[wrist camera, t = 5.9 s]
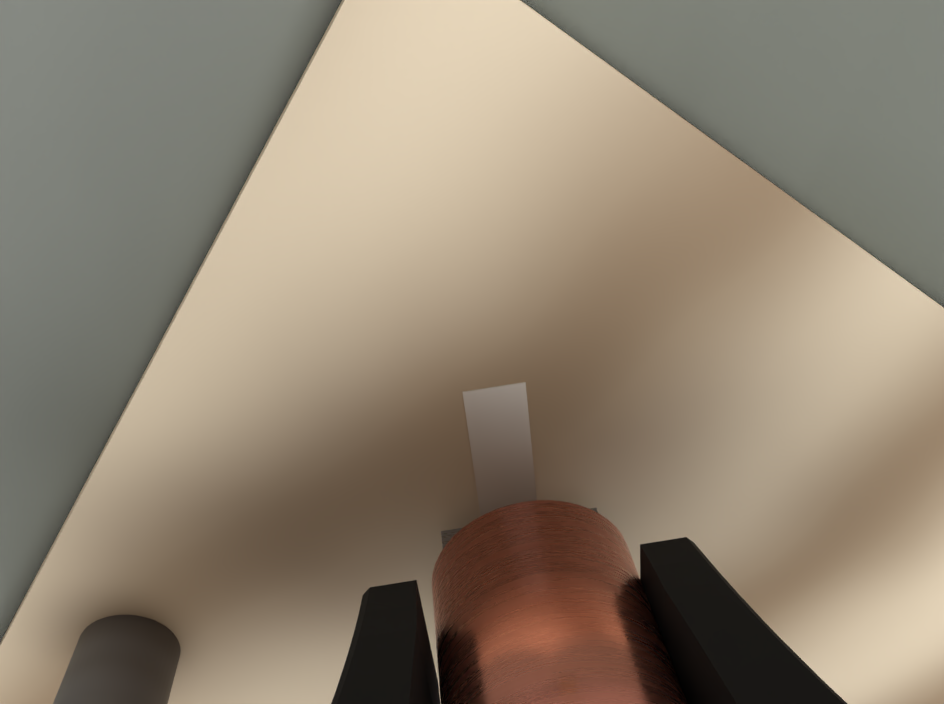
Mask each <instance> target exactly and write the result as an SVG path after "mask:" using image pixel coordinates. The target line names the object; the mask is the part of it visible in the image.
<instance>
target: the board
mask: <svg viewBox="0 0 944 704" xmlns="http://www.w3.org/2000/svg"><path fill="white" fill-rule="evenodd" d="M536 500H554V501H563V502H569V503H573V504H578V505H581V506H584V507H586V508H589V509H590V508H597V511H598V513H599V514H601V515H602V516H604V517H605V518H607V519H608V520H609V521H610V522H611V523H612V524H613V525H615V526H616V527H617V529H618V530H619V531H620V533H621V534H622V535H623V537H624V539H625V541H626V543H627V546H628V548H629V551H630V554H631V556H632V559H633V562H634V564H635V567H636V569H637V572H638V575H639V577H640V544H645V543H652V542H658V541H664V540H671V539H677V538H683V537H687V538H688V539H690V540H691V541H693V542H694V543H695V544H696V545H697V547H698V548H699V549H700V550H701V551H702V553H703V554H704V555H705V556H706V557H707V558H708V560H709V561H710V562H711V563H712V564H713V565H714V567H715V568H716V569H717V570H718V571H719V572H720V573H721V575H722V576H723V577H724V578H725V579H726V580H727V581H728V583H729V584H730V585H731V586H732V587H733V588H734V589H735V590H736V591H737V593H738V594H739V595H740V596H741V597H742V598H743V599H744V600H745V601H746V602H747V603H748V604H749V606H750V607H751V608H752V609H753V610H754V611H755V612H756V613H757V614H758V615H759V616H760V617H761V618H762V620H763V621H764V622H765V623H766V624H767V625H768V626H769V627H770V628H771V629H772V630H773V631H774V632H775V633H776V634H777V635H778V636H779V637H780V638H781V639H782V640H783V641H784V642H785V643H786V644H787V645H788V646H789V647H790V648H791V649H792V650H793V651H794V652H795V653H796V654H797V655H798V656H799V657H800V658H801V659H802V660H803V661H804V662H805V663H806V664H807V665H808V666H809V667H810V668H811V669H812V670H813V671H814V672H815V673H816V674H817V675H818V676H819V677H820V678H821V679H822V680H823V681H824V682H825V683H826V684H827V685H828V686H829V687H830V688H832V689H833V690H834V691H835V692H836V693H837V694H838V695H839V696H840V697H841V698H842V699H843V700H844V701H845V702H846V703H847V704H944V307H942V306H941V305H940V304H938V303H937V302H935V301H934V300H933V299H931V298H930V297H929V296H927V295H926V294H924V293H923V292H922V291H920V290H919V289H918V288H916V287H915V286H913V285H912V284H911V283H909V282H908V281H907V280H905V279H904V278H902V277H901V276H900V275H898V274H897V273H896V272H894V271H893V270H891V269H890V268H889V267H887V266H886V265H884V264H883V263H882V262H880V261H879V260H878V259H876V258H875V257H873V256H872V255H871V254H869V253H868V252H867V251H865V250H864V249H862V248H861V247H860V246H858V245H857V244H856V243H854V242H853V241H851V240H850V239H849V238H847V237H846V236H845V235H843V234H842V233H840V232H839V231H838V230H836V229H835V228H834V227H832V226H831V225H829V224H828V223H827V222H825V221H824V220H823V219H821V218H820V217H818V216H817V215H816V214H814V213H813V212H812V211H810V210H809V209H807V208H806V207H805V206H803V205H802V204H801V203H799V202H798V201H796V200H795V199H794V198H792V197H791V196H790V195H788V194H787V193H785V192H784V191H783V190H781V189H780V188H778V187H777V186H776V185H774V184H773V183H772V182H770V181H769V180H767V179H766V178H765V177H763V176H762V175H761V174H759V173H758V172H756V171H755V170H754V169H752V168H751V167H750V166H748V165H747V164H745V163H744V162H743V161H741V160H740V159H739V158H737V157H736V156H734V155H733V154H732V153H730V152H729V151H728V150H726V149H725V148H723V147H722V146H721V145H719V144H718V143H717V142H715V141H714V140H712V139H711V138H710V137H708V136H707V135H706V134H704V133H703V132H701V131H700V130H699V129H697V128H696V127H695V126H693V125H692V124H690V123H689V122H688V121H686V120H685V119H684V118H682V117H681V116H679V115H678V114H677V113H675V112H674V111H673V110H671V109H670V108H668V107H667V106H666V105H664V104H663V103H661V102H660V101H659V100H657V99H656V98H655V97H653V96H652V95H650V94H649V93H648V92H646V91H645V90H644V89H642V88H641V87H639V86H638V85H637V84H635V83H634V82H633V81H631V80H630V79H628V78H627V77H626V76H624V75H623V74H622V73H620V72H619V71H617V70H616V69H615V68H613V67H612V66H611V65H609V64H608V63H606V62H605V61H604V60H602V59H601V58H600V57H598V56H597V55H595V54H594V53H593V52H591V51H590V50H589V49H587V48H586V47H584V46H583V45H582V44H580V43H579V42H578V41H576V40H575V39H573V38H572V37H571V36H569V35H568V34H567V33H565V32H564V31H562V30H561V29H560V28H558V27H557V26H556V25H554V24H553V23H551V22H550V21H549V20H547V19H546V18H545V17H543V16H542V15H540V14H539V13H538V12H536V11H535V10H533V9H532V8H531V7H529V6H528V5H527V4H525V3H524V2H522V1H521V0H342V1H341V3H340V5H339V7H338V9H337V11H336V13H335V15H334V16H333V18H332V20H331V22H330V24H329V26H328V28H327V30H326V31H325V33H324V35H323V37H322V39H321V41H320V43H319V45H318V46H317V48H316V50H315V52H314V54H313V56H312V58H311V60H310V61H309V63H308V65H307V67H306V69H305V71H304V73H303V75H302V77H301V78H300V80H299V82H298V84H297V86H296V88H295V90H294V92H293V93H292V95H291V97H290V99H289V101H288V103H287V105H286V107H285V108H284V110H283V112H282V114H281V116H280V118H279V120H278V122H277V124H276V125H275V127H274V129H273V131H272V133H271V135H270V137H269V139H268V140H267V142H266V144H265V146H264V148H263V150H262V152H261V154H260V155H259V157H258V159H257V161H256V163H255V165H254V167H253V169H252V170H251V172H250V174H249V176H248V178H247V180H246V182H245V184H244V186H243V187H242V189H241V191H240V193H239V195H238V197H237V199H236V201H235V202H234V204H233V206H232V208H231V210H230V212H229V214H228V216H227V217H226V219H225V221H224V223H223V225H222V227H221V229H220V231H219V233H218V234H217V236H216V238H215V240H214V242H213V244H212V246H211V248H210V249H209V251H208V253H207V255H206V257H205V259H204V261H203V263H202V264H201V266H200V268H199V270H198V272H197V274H196V276H195V278H194V279H193V281H192V283H191V285H190V287H189V289H188V291H187V293H186V295H185V296H184V298H183V300H182V302H181V304H180V306H179V308H178V310H177V311H176V313H175V315H174V317H173V319H172V321H171V323H170V325H169V326H168V328H167V330H166V332H165V334H164V336H163V338H162V340H161V342H160V343H159V345H158V347H157V349H156V351H155V353H154V355H153V357H152V358H151V360H150V362H149V364H148V366H147V368H146V370H145V372H144V373H143V375H142V377H141V379H140V381H139V383H138V385H137V387H136V388H135V390H134V392H133V394H132V396H131V398H130V400H129V402H128V404H127V405H126V407H125V409H124V411H123V413H122V415H121V417H120V419H119V420H118V422H117V424H116V426H115V428H114V430H113V432H112V434H111V435H110V437H109V439H108V441H107V443H106V445H105V447H104V449H103V450H102V452H101V454H100V456H99V458H98V460H97V462H96V464H95V466H94V467H93V469H92V471H91V473H90V475H89V477H88V479H87V481H86V482H85V484H84V486H83V488H82V490H81V492H80V494H79V496H78V497H77V499H76V501H75V503H74V505H73V507H72V509H71V511H70V513H69V514H68V516H67V518H66V520H65V522H64V524H63V526H62V528H61V529H60V531H59V533H58V535H57V537H56V539H55V541H54V543H53V544H52V546H51V548H50V550H49V552H48V554H47V556H46V558H45V559H44V561H43V563H42V565H41V567H40V569H39V571H38V573H37V575H36V576H35V578H34V580H33V582H32V584H31V586H30V588H29V590H28V591H27V593H26V595H25V597H24V599H23V601H22V603H21V605H20V606H19V608H18V610H17V612H16V614H15V616H14V618H13V620H12V622H11V623H10V625H9V627H8V629H7V631H6V633H5V635H4V637H3V638H2V640H1V642H0V704H331V703H332V700H333V697H334V694H335V692H336V689H337V686H338V683H339V680H340V676H341V673H342V670H343V667H344V664H345V661H346V658H347V655H348V651H349V648H350V645H351V641H352V638H353V634H354V630H355V626H356V622H357V619H358V614H359V610H360V605H361V600H362V596H363V594H364V593H365V592H366V591H367V590H368V589H369V588H370V587H375V586H381V585H388V584H394V583H400V582H406V581H413V580H417V584H418V589H419V594H420V599H421V603H422V608H423V613H424V618H425V622H426V627H427V632H428V637H429V641H430V646H431V651H432V656H433V660H434V665H435V670H436V675H437V679H438V685H439V673H438V660H437V647H436V633H435V620H434V607H433V594H432V574H433V570H434V567H435V563H436V561H437V559H438V557H439V555H440V553H441V552H442V550H443V547H442V536H441V531H445V530H452V529H458V528H463V527H465V526H466V525H467V524H469V523H470V522H472V521H473V520H475V519H477V518H478V517H480V516H482V515H484V514H486V513H488V512H491V511H493V510H495V509H498V508H501V507H504V506H507V505H511V504H516V503H520V502H526V501H536ZM439 695H440V686H439ZM440 704H441V699H440Z"/></svg>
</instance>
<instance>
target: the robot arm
mask: <svg viewBox="0 0 944 704" xmlns="http://www.w3.org/2000/svg"><path fill="white" fill-rule="evenodd" d="M640 581H641V583H642V586H643V588H644V591H645V594H646V596H647V599H648V602H649V604H650V607H651V610H652V612H653V615H654V617H655V620H656V623H657V625H658V628H659V631H660V633H661V636H662V639H663V641H664V644H665V646H666V649H667V651H668V654H669V656H670V659H671V661H672V664H673V667H674V669H675V672H676V675H677V677H678V680H679V682H680V685H681V688H682V690H683V693H684V696H685V698H686V701H687V704H847V703H846V702H845V701H844V700H843V699H842V698H841V697H840V696H839V695H838V694H837V693H836V692H835V691H834V690H833V689H832V688H830V687H829V686H828V685H827V684H826V683H825V682H824V681H823V680H822V679H821V678H820V677H819V676H818V675H817V674H816V673H815V672H814V671H813V670H812V669H811V668H810V667H809V666H808V665H807V664H806V663H805V662H804V661H803V660H802V659H801V658H800V657H799V656H798V655H797V654H796V653H795V652H794V651H793V650H792V649H791V648H790V647H789V646H788V645H787V644H786V643H785V642H784V641H783V640H782V639H781V638H780V637H779V636H778V635H777V634H776V633H775V632H774V631H773V630H772V629H771V628H770V627H769V626H768V625H767V624H766V623H765V622H764V621H763V620H762V618H761V617H760V616H759V615H758V614H757V613H756V612H755V611H754V610H753V609H752V608H751V607H750V606H749V604H748V603H747V602H746V601H745V600H744V599H743V598H742V597H741V596H740V595H739V594H738V593H737V591H736V590H735V589H734V588H733V587H732V586H731V585H730V584H729V583H728V581H727V580H726V579H725V578H724V577H723V576H722V575H721V573H720V572H719V571H718V570H717V569H716V568H715V567H714V565H713V564H712V563H711V562H710V561H709V560H708V558H707V557H706V556H705V555H704V554H703V553H702V551H701V550H700V549H699V548H698V547H697V545H696V544H695V543H694V542H693V541H691V540H690V539H688V538H687V537H683V538H677V539H671V540H664V541H658V542H652V543H645V544H640ZM331 704H440V695H439V685H438V679H437V675H436V670H435V665H434V660H433V656H432V651H431V646H430V641H429V637H428V632H427V627H426V622H425V618H424V613H423V608H422V603H421V599H420V594H419V589H418V584H417V580H413V581H406V582H400V583H394V584H388V585H381V586H375V587H370V588H369V589H368V590H367V591H366V592H365V593H364V594H363V596H362V600H361V605H360V610H359V614H358V619H357V622H356V626H355V630H354V634H353V638H352V641H351V645H350V648H349V651H348V655H347V658H346V661H345V664H344V667H343V670H342V673H341V676H340V680H339V683H338V686H337V689H336V692H335V694H334V697H333V700H332V703H331Z"/></svg>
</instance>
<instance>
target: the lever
mask: <svg viewBox="0 0 944 704" xmlns="http://www.w3.org/2000/svg"><path fill="white" fill-rule="evenodd" d="M441 536H442V547H443V550H442V552H441V553H440V555H439V557H438V559H437V561H436V563H435V567H434V570H433V574H432V594H433V607H434V620H435V633H436V647H437V660H438V673H439V686H440V699H441V704H687V701H686V698H685V696H684V693H683V690H682V688H681V685H680V682H679V680H678V677H677V675H676V672H675V669H674V667H673V664H672V661H671V659H670V656H669V654H668V651H667V649H666V646H665V644H664V641H663V639H662V636H661V633H660V631H659V628H658V625H657V623H656V620H655V617H654V615H653V612H652V610H651V607H650V604H649V602H648V599H647V596H646V594H645V591H644V588H643V586H642V583H641V581H640V577H639V575H638V572H637V569H636V567H635V564H634V562H633V559H632V556H631V554H630V551H629V548H628V546H627V543H626V541H625V539H624V537H623V535H622V534H621V533H620V531H619V530H618V529H617V527H616V526H615V525H613V524H612V523H611V522H610V521H609V520H608V519H607V518H605V517H604V516H602V515H601V514H599V513H598V511H597V508H590V509H589V508H586V507H584V506H581V505H578V504H573V503H569V502H563V501H554V500H536V501H526V502H520V503H516V504H511V505H507V506H504V507H501V508H498V509H495V510H493V511H491V512H488V513H486V514H484V515H482V516H480V517H478V518H477V519H475V520H473V521H472V522H470V523H469V524H467V525H466V526H465V527H463V528H458V529H452V530H445V531H441Z"/></svg>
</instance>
